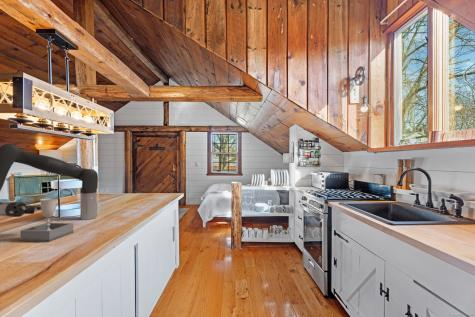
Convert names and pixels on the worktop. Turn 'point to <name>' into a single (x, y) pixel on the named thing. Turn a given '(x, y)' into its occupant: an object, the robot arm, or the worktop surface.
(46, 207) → the chalice
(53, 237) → the box
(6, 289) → the worktop surface
